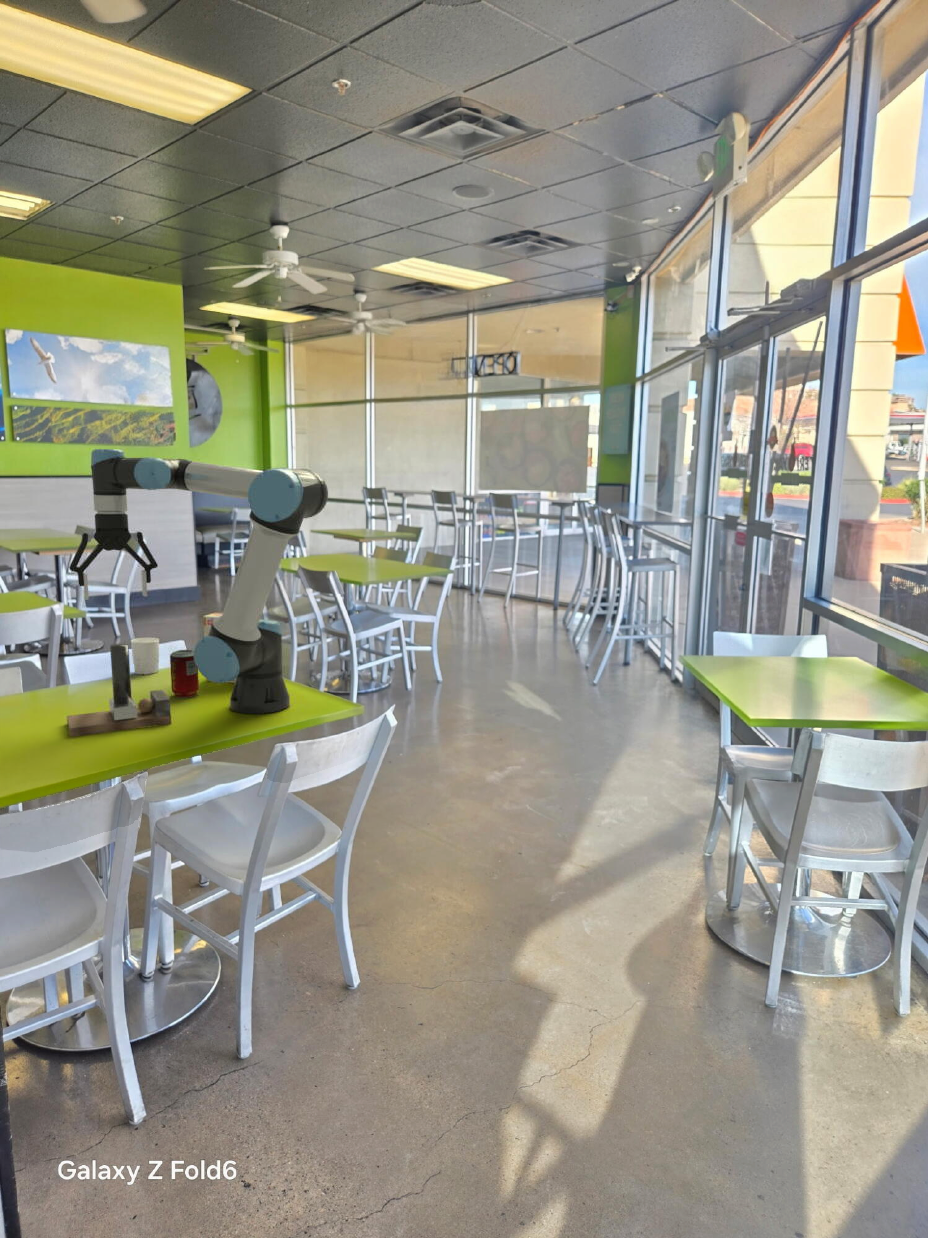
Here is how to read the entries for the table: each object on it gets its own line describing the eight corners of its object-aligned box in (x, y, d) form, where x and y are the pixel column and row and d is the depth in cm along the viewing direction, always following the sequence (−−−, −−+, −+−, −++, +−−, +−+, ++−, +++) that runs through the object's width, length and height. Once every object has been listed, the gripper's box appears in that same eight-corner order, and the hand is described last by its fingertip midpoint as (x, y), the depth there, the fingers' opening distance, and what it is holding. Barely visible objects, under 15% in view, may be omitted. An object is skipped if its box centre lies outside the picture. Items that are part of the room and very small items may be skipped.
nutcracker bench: (163, 712, 203) (162, 689, 202) (171, 723, 193) (170, 699, 192) (67, 723, 192) (65, 699, 191) (70, 736, 183) (68, 711, 182)
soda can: (204, 693, 221) (202, 650, 218) (187, 700, 214) (185, 655, 212) (184, 690, 223) (181, 647, 221) (166, 697, 217) (163, 652, 214)
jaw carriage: (132, 708, 198) (128, 640, 195) (137, 717, 190) (133, 647, 187) (110, 710, 195) (105, 642, 192) (114, 720, 188) (110, 649, 185)
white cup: (150, 676, 239) (149, 643, 237) (127, 674, 240) (125, 641, 239) (165, 670, 246) (164, 638, 245) (142, 668, 248) (140, 636, 246)
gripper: (161, 511, 207) (165, 592, 211) (53, 512, 195) (60, 598, 198) (166, 512, 201) (170, 596, 204) (55, 513, 188) (62, 602, 192)
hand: (116, 597), depth 201 cm, fingers open, 13 cm apart
